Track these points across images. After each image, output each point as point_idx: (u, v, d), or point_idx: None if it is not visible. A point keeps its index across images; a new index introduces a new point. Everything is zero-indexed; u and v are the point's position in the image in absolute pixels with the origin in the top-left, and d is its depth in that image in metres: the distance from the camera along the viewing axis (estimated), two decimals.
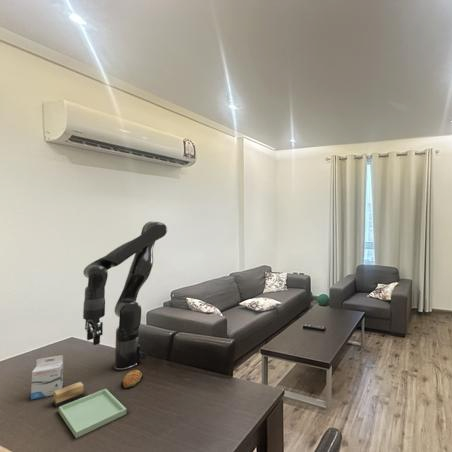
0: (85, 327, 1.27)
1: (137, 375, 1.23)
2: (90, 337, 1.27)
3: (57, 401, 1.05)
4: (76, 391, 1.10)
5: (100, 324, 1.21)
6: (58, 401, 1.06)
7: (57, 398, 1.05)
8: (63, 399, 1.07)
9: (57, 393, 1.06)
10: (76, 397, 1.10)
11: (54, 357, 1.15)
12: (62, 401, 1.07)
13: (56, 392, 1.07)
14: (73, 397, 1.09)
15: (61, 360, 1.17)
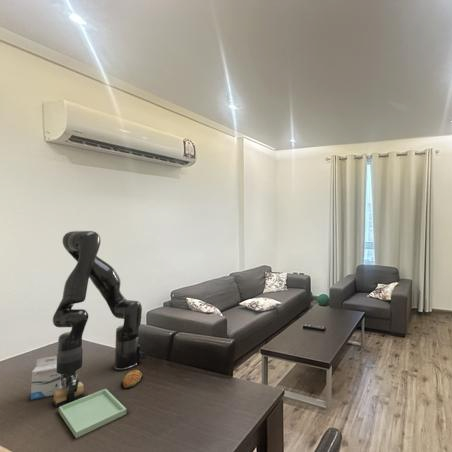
0: (61, 383, 1.11)
1: (137, 375, 1.23)
2: None
3: (57, 401, 1.05)
4: None
5: (75, 382, 1.07)
6: (58, 401, 1.06)
7: (57, 398, 1.05)
8: (63, 399, 1.07)
9: (57, 393, 1.06)
10: (76, 397, 1.10)
11: (54, 357, 1.15)
12: (62, 401, 1.07)
13: (56, 392, 1.07)
14: None
15: None
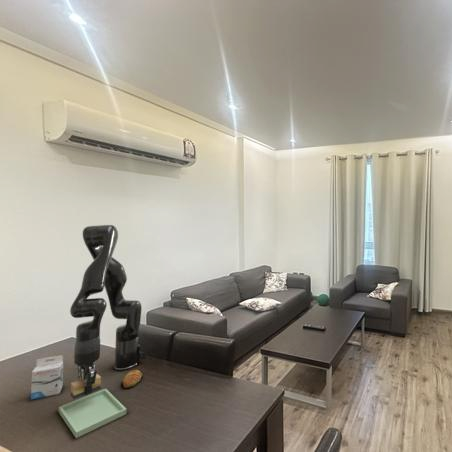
0: (78, 375, 1.08)
1: (137, 375, 1.23)
2: None
3: (75, 393, 1.02)
4: (94, 383, 1.07)
5: (93, 374, 1.03)
6: (76, 393, 1.03)
7: (75, 390, 1.02)
8: (80, 391, 1.04)
9: (75, 384, 1.03)
10: (93, 389, 1.07)
11: (54, 357, 1.15)
12: (79, 393, 1.04)
13: (73, 384, 1.03)
14: None
15: (61, 360, 1.17)
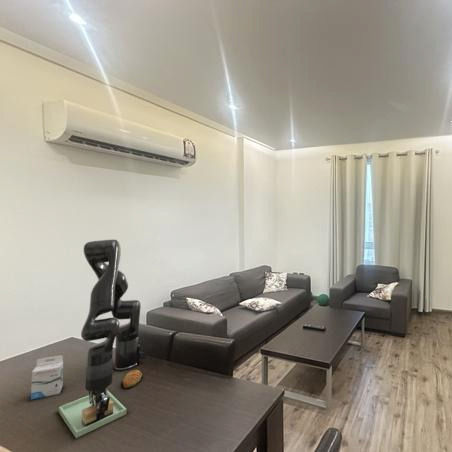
0: None
1: (137, 375, 1.23)
2: None
3: (86, 421, 0.95)
4: None
5: (106, 400, 0.96)
6: (87, 421, 0.95)
7: (86, 418, 0.95)
8: (92, 419, 0.96)
9: (86, 412, 0.96)
10: (106, 416, 1.00)
11: (54, 357, 1.15)
12: (91, 421, 0.96)
13: (85, 411, 0.96)
14: None
15: (61, 360, 1.17)
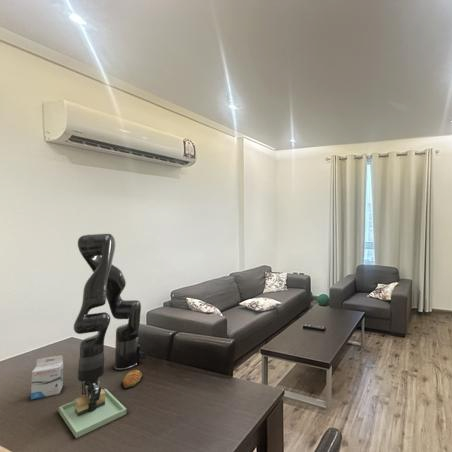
0: (82, 391, 1.06)
1: (137, 375, 1.23)
2: None
3: (79, 410, 1.00)
4: None
5: (98, 390, 1.02)
6: (80, 410, 1.01)
7: (79, 407, 1.00)
8: (85, 408, 1.02)
9: (79, 401, 1.01)
10: (98, 405, 1.05)
11: (54, 357, 1.15)
12: (83, 409, 1.02)
13: (77, 400, 1.02)
14: None
15: (61, 360, 1.17)
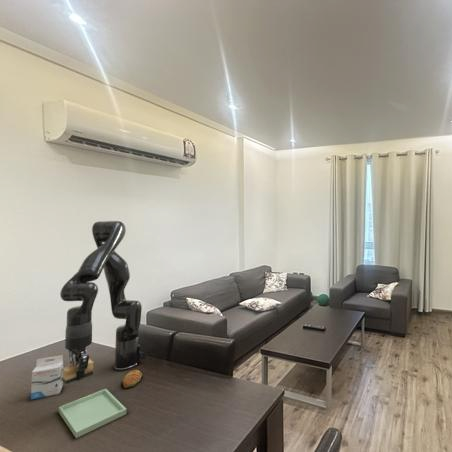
0: (70, 361, 1.06)
1: (137, 375, 1.23)
2: None
3: (66, 378, 1.00)
4: None
5: (86, 358, 1.01)
6: (67, 378, 1.00)
7: (66, 375, 1.00)
8: (72, 376, 1.01)
9: (66, 369, 1.00)
10: (86, 375, 1.05)
11: (54, 357, 1.15)
12: (71, 378, 1.01)
13: (65, 369, 1.01)
14: None
15: (61, 360, 1.17)
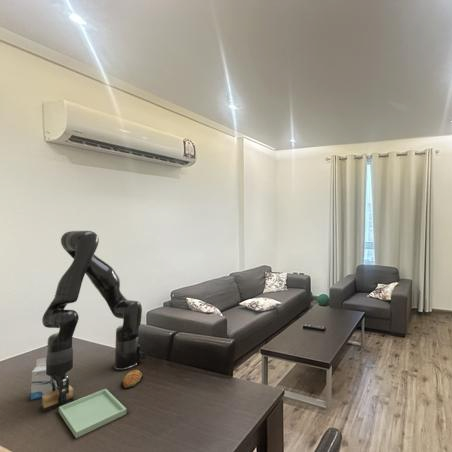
0: (50, 381, 1.10)
1: (137, 375, 1.23)
2: None
3: (45, 406, 1.03)
4: None
5: (66, 381, 1.04)
6: (46, 406, 1.03)
7: (45, 402, 1.03)
8: (51, 404, 1.04)
9: (45, 397, 1.03)
10: None
11: None
12: (50, 405, 1.04)
13: (44, 396, 1.04)
14: None
15: None
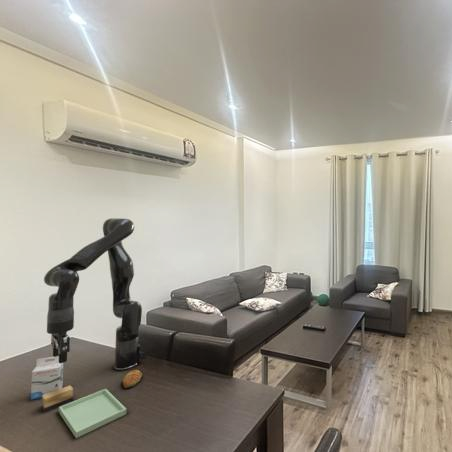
0: (51, 342, 1.10)
1: (137, 375, 1.23)
2: (57, 353, 1.09)
3: (45, 406, 1.03)
4: (65, 395, 1.07)
5: (66, 339, 1.04)
6: (46, 406, 1.03)
7: (45, 402, 1.03)
8: (51, 404, 1.04)
9: (45, 397, 1.03)
10: (65, 401, 1.07)
11: (54, 357, 1.15)
12: (50, 405, 1.04)
13: (44, 396, 1.04)
14: (62, 401, 1.07)
15: None
